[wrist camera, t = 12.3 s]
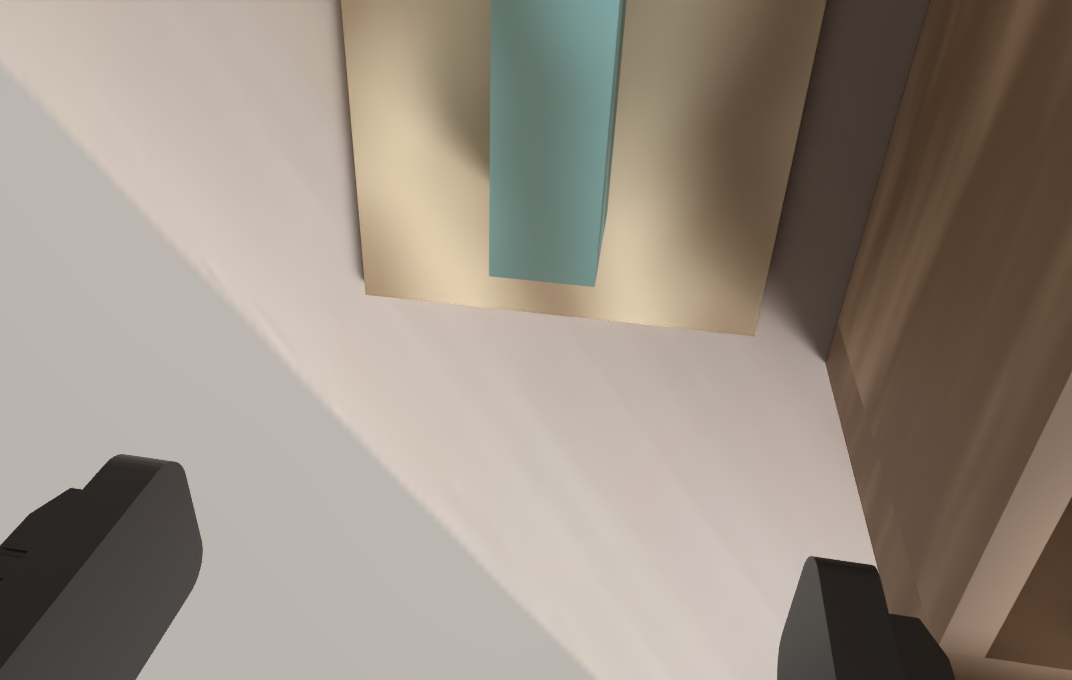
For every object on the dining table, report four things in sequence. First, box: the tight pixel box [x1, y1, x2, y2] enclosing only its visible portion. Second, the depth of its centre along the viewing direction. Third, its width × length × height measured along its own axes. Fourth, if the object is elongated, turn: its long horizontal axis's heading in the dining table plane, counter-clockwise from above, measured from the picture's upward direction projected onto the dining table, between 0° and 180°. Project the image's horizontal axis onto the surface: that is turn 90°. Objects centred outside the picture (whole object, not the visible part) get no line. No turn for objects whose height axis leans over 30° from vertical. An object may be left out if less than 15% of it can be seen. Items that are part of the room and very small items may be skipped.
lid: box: [341, 0, 827, 336], centre depth 24 cm, size 14×16×6 cm
